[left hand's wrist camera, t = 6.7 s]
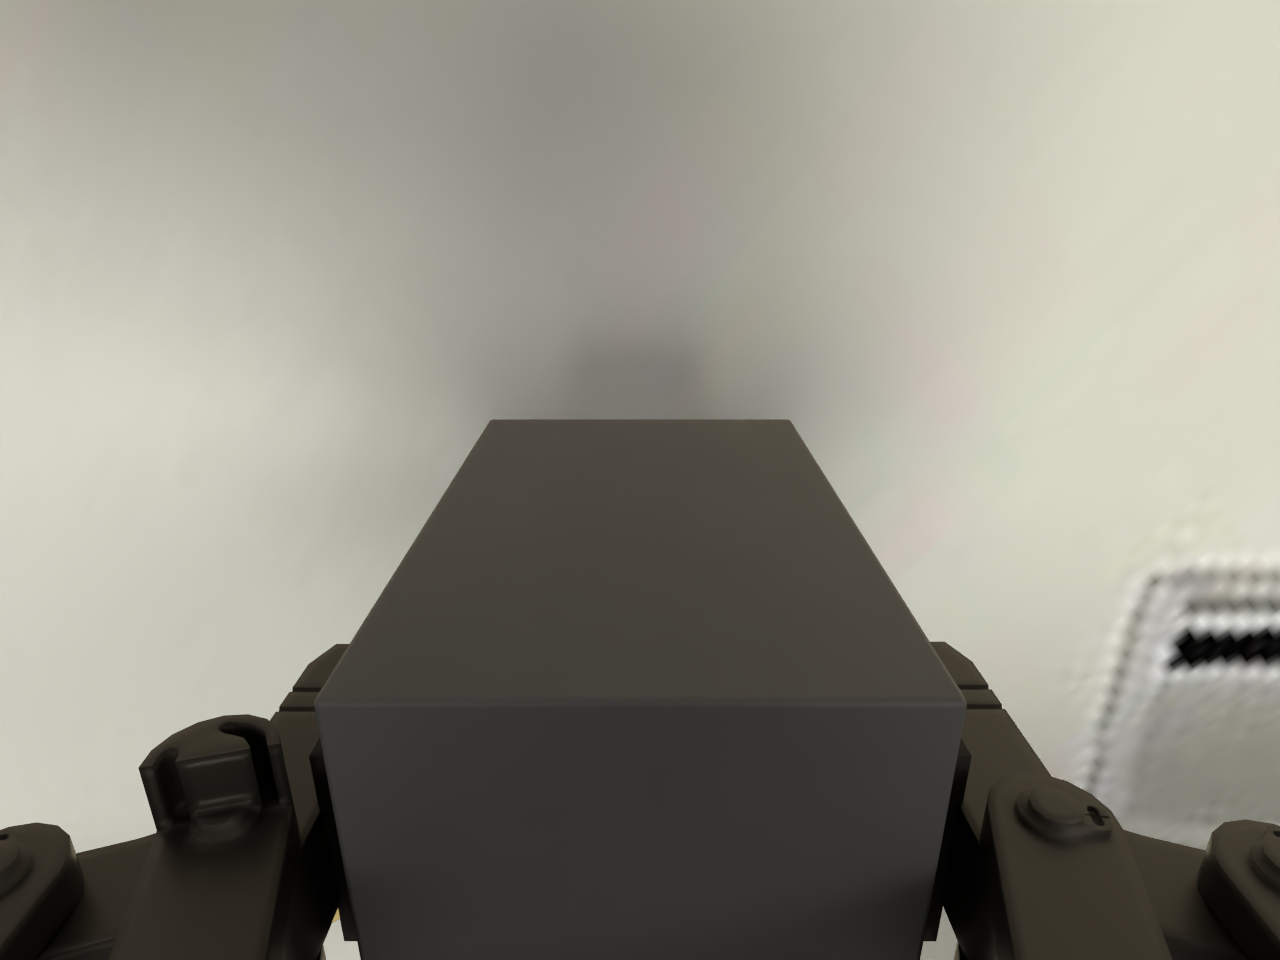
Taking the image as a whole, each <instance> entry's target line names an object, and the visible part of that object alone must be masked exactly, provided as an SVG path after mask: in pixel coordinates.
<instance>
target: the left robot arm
mask: <svg viewBox="0 0 1280 960" xmlns="http://www.w3.org/2000/svg"><path fill="white" fill-rule="evenodd" d="M930 643H931V645H932V646H933V648H934V650H935V651H936V653H937V654H938V656H939V658H940V659H941V661H942V662H943V664H944V665H945V667H946V669H947V670H948V672H949V673H950V675H951V677H952V678H953V680H954V681H955V683H956V684H957V686H958V688H959V689H960V691H961V692H962V694H963V696H964V697H965V699H966V702H967V708H966V713H965V718H964V724H963V729H962V735H961V740H960V745H959V751H958V756H957V762H956V767H955V772H954V778H953V783H952V789H951V794H950V799H949V805H948V810H947V816H946V821H945V826H944V832H943V837H942V843H941V848H940V853H939V859H938V864H937V870H936V875H935V880H934V886H933V891H932V897H931V902H930V907H929V913H928V918H927V924H926V929H925V934H924V940H923V941H936V939H937V934H938V928H939V923H940V918H941V913H942V908H943V906H944V909H945V911H946V914H947V916H948V918H949V921H950V923H951V926H952V928H953V930H954V933H955V935H956V938H957V940H958V942H957V947H956V952H955V957H954V960H1280V826H1277V825H1275V824H1270V823H1264V822H1257V821H1251V820H1239V821H1232V822H1224V823H1223V824H1222V825H1221V826H1219V827H1218V828H1217V829H1216V830H1215V831H1213V832H1212V834H1211V837H1210V840H1209V843H1208V846H1207V849H1206V851H1205V850H1201V849H1196V848H1192V847H1188V846H1184V845H1179V844H1175V843H1171V842H1167V841H1162V840H1158V839H1154V838H1150V837H1146V836H1142V835H1139V834H1135V833H1132V832H1129V831H1126V830H1123V829H1122V827H1121V826H1120V824H1119V823H1118V821H1117V819H1116V818H1115V816H1114V815H1113V813H1112V812H1111V811H1110V810H1109V809H1108V808H1107V807H1106V806H1105V805H1103V804H1102V803H1101V802H1100V801H1099V800H1098V799H1096V798H1095V797H1094V796H1093V795H1092V794H1090V793H1088V792H1086V791H1084V790H1082V789H1080V788H1079V787H1077V786H1075V785H1073V784H1071V783H1069V782H1067V781H1064V780H1060V779H1057V778H1054V777H1052V776H1051V775H1050V774H1049V772H1048V771H1047V769H1046V768H1045V766H1044V765H1043V763H1042V762H1041V761H1040V759H1039V758H1038V756H1037V755H1036V753H1035V752H1034V750H1033V749H1032V748H1031V746H1030V745H1029V743H1028V742H1027V740H1026V739H1025V737H1024V736H1023V735H1022V733H1021V732H1020V730H1019V729H1018V727H1017V726H1016V724H1015V723H1014V722H1013V720H1012V719H1011V717H1010V716H1009V714H1008V713H1007V711H1006V710H1005V709H1002V704H1001V703H1000V701H999V700H998V698H997V697H996V696H995V694H994V693H993V691H992V690H989V689H988V684H987V682H986V681H985V680H984V678H983V677H982V675H981V674H980V672H979V671H978V669H977V668H976V667H975V665H974V664H973V662H972V661H970V660H969V659H968V658H966V657H965V656H964V655H962V654H961V653H959V652H958V651H957V650H955V649H954V648H952V647H951V646H950V645H948V644H947V643H946V642H930ZM349 645H350V644H336V645H334V646H333V647H332V648H330V649H329V650H328V651H326V652H325V653H323V654H322V655H321V656H319V657H318V658H317V659H315V660H314V661H312V662H311V663H310V664H309V665H308V666H307V668H306V669H305V670H304V672H303V673H302V675H301V676H300V678H299V679H298V681H297V682H296V684H295V685H294V686H293V691H292V692H289V694H288V695H287V697H286V698H285V700H284V701H283V702H282V704H281V705H280V707H279V708H280V709H279V712H276V713H275V714H274V716H273V717H272V718H271V720H270V721H269V720H268V719H265V718H261V717H257V716H252V715H228V716H221V717H217V718H214V719H210V720H206V721H202V722H198V723H196V724H194V725H192V726H190V727H188V728H185V729H183V730H181V731H179V732H177V733H175V734H173V735H171V736H170V737H169V738H167V739H166V740H165V741H163V742H162V743H161V744H159V745H158V746H157V747H155V748H154V749H153V750H151V752H150V753H149V755H148V756H147V757H146V759H145V760H144V761H143V763H142V764H141V765H140V767H139V771H140V774H141V778H142V781H143V785H144V788H145V791H146V795H147V798H148V802H149V805H150V808H151V812H152V815H153V819H154V822H155V825H156V829H157V832H156V833H155V834H152V835H149V836H146V837H142V838H139V839H136V840H131V841H127V842H123V843H119V844H115V845H110V846H106V847H102V848H98V849H93V850H89V851H85V852H81V853H77V854H76V853H75V850H74V847H73V844H72V841H71V838H70V836H69V835H68V834H67V833H66V832H65V831H63V830H62V829H61V828H60V827H59V826H57V825H49V824H42V823H31V824H25V825H19V826H12V827H8V828H5V829H2V830H0V960H326V957H325V952H324V947H323V943H324V940H325V938H326V935H327V933H328V931H329V928H330V926H331V923H332V921H333V919H334V916H335V914H336V911H337V909H338V910H339V915H340V921H341V926H342V931H343V936H344V941H357V936H356V930H355V925H354V919H353V914H352V908H351V903H350V898H349V892H348V887H347V881H346V876H345V871H344V865H343V860H342V854H341V849H340V843H339V838H338V833H337V827H336V822H335V816H334V811H333V806H332V800H331V795H330V789H329V784H328V778H327V773H326V768H325V762H324V757H323V751H322V746H321V741H320V735H319V730H318V724H317V719H316V713H315V708H314V702H315V699H316V697H317V695H318V694H319V692H320V691H321V689H322V687H323V686H324V684H325V683H326V681H327V680H328V678H329V676H330V675H331V673H332V672H333V670H334V668H335V667H336V665H337V664H338V662H339V660H340V659H341V657H342V656H343V654H344V652H345V651H346V649H347V648H348V646H349Z"/></svg>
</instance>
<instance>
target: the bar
mask: <svg viewBox="0 0 1280 960" xmlns="http://www.w3.org/2000/svg"><path fill="white" fill-rule="evenodd" d="M314 708H315V713H316V719H317V724H318V730H319V735H320V741H321V746H322V751H323V757H324V762H325V768H326V773H327V778H328V784H329V789H330V795H331V800H332V806H333V811H334V816H335V822H336V827H337V833H338V838H339V843H340V849H341V854H342V860H343V865H344V871H345V876H346V881H347V887H348V892H349V898H350V903H351V908H352V914H353V919H354V925H355V930H356V936H357V941H358V946H359V952H360V957H361V960H920V956H921V950H922V945H923V940H924V934H925V929H926V924H927V918H928V913H929V907H930V902H931V897H932V891H933V886H934V880H935V875H936V870H937V864H938V859H939V853H940V848H941V843H942V837H943V832H944V826H945V821H946V816H947V810H948V805H949V799H950V794H951V789H952V783H953V778H954V772H955V767H956V762H957V756H958V751H959V745H960V740H961V735H962V729H963V724H964V718H965V713H966V708H967V702H966V699H965V697H964V696H963V694H962V692H961V691H960V689H959V688H958V686H957V684H956V683H955V681H954V680H953V678H952V677H951V675H950V673H949V672H948V670H947V669H946V667H945V665H944V664H943V662H942V661H941V659H940V658H939V656H938V654H937V653H936V651H935V650H934V648H933V646H932V645H931V643H930V642H929V640H928V638H927V637H926V635H925V634H924V632H923V631H922V629H921V627H920V626H919V624H918V623H917V621H916V619H915V618H914V616H913V615H912V613H911V612H910V610H909V608H908V607H907V605H906V604H905V602H904V600H903V599H902V597H901V596H900V594H899V592H898V591H897V589H896V588H895V586H894V585H893V583H892V581H891V580H890V578H889V577H888V575H887V573H886V572H885V570H884V569H883V567H882V565H881V564H880V562H879V561H878V559H877V558H876V556H875V554H874V553H873V551H872V550H871V548H870V546H869V545H868V543H867V542H866V540H865V539H864V537H863V535H862V534H861V532H860V531H859V529H858V527H857V526H856V524H855V523H854V521H853V519H852V518H851V516H850V515H849V513H848V512H847V510H846V508H845V507H844V505H843V504H842V502H841V500H840V499H839V497H838V496H837V494H836V493H835V491H834V489H833V488H832V486H831V485H830V483H829V481H828V480H827V478H826V477H825V475H824V473H823V472H822V470H821V469H820V467H819V466H818V464H817V462H816V461H815V459H814V458H813V456H812V454H811V453H810V451H809V450H808V448H807V446H806V445H805V443H804V442H803V440H802V439H801V437H800V435H799V434H798V432H797V431H796V429H795V427H794V426H793V424H792V423H791V421H790V420H491V421H490V422H489V423H488V425H487V427H486V428H485V430H484V431H483V433H482V434H481V436H480V438H479V439H478V441H477V442H476V444H475V446H474V447H473V449H472V450H471V452H470V454H469V455H468V457H467V458H466V460H465V462H464V463H463V465H462V466H461V468H460V470H459V471H458V473H457V474H456V476H455V477H454V479H453V481H452V482H451V484H450V485H449V487H448V489H447V490H446V492H445V493H444V495H443V497H442V498H441V500H440V501H439V503H438V505H437V506H436V508H435V509H434V511H433V512H432V514H431V516H430V517H429V519H428V520H427V522H426V524H425V525H424V527H423V528H422V530H421V532H420V533H419V535H418V536H417V538H416V540H415V541H414V543H413V544H412V546H411V547H410V549H409V551H408V552H407V554H406V555H405V557H404V559H403V560H402V562H401V563H400V565H399V567H398V568H397V570H396V571H395V573H394V575H393V576H392V578H391V579H390V581H389V582H388V584H387V586H386V587H385V589H384V590H383V592H382V594H381V595H380V597H379V598H378V600H377V602H376V603H375V605H374V606H373V608H372V610H371V611H370V613H369V614H368V616H367V617H366V619H365V621H364V622H363V624H362V625H361V627H360V629H359V630H358V632H357V633H356V635H355V637H354V638H353V640H352V641H351V643H350V645H349V646H348V648H347V649H346V651H345V652H344V654H343V656H342V657H341V659H340V660H339V662H338V664H337V665H336V667H335V668H334V670H333V672H332V673H331V675H330V676H329V678H328V680H327V681H326V683H325V684H324V686H323V687H322V689H321V691H320V692H319V694H318V695H317V697H316V699H315V702H314Z"/></svg>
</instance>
